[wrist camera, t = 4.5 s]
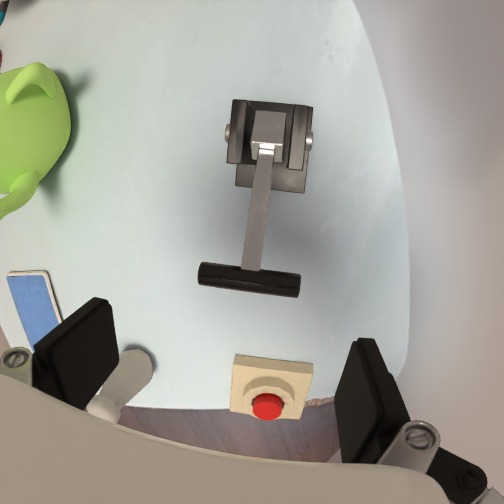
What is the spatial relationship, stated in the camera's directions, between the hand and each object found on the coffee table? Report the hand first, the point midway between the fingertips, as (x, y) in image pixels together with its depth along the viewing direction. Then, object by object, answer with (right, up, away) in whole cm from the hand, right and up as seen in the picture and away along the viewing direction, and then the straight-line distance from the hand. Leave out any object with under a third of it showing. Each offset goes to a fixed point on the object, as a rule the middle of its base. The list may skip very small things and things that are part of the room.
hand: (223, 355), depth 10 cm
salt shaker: (-15, -12, +29) cm, 35 cm away
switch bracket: (+3, +15, +19) cm, 24 cm away
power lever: (+2, +7, +9) cm, 12 cm away
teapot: (-29, +20, +21) cm, 41 cm away
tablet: (-35, -8, +30) cm, 47 cm away
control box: (+4, -14, +27) cm, 31 cm away
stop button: (+3, -15, +24) cm, 28 cm away
